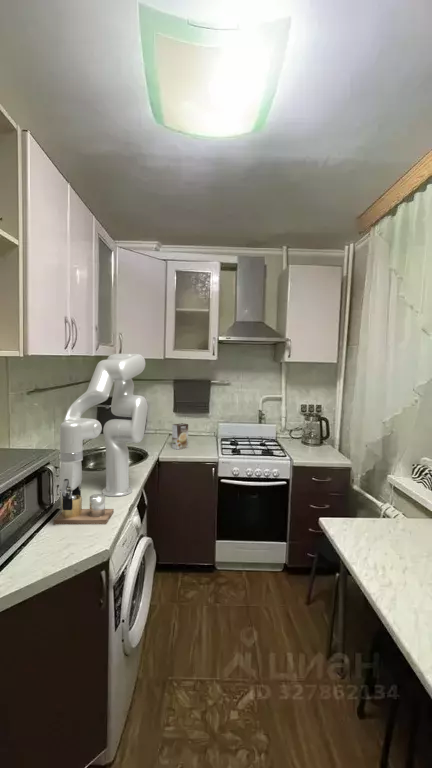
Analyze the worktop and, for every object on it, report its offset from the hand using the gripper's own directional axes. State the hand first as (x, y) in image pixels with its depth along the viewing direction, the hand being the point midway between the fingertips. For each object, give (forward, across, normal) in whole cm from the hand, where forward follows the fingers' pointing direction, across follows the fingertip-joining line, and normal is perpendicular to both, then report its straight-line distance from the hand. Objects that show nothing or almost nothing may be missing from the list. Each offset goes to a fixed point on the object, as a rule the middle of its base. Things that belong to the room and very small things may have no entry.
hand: (71, 504), depth 132 cm
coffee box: (+5, -116, +30) cm, 120 cm away
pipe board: (+5, 0, +4) cm, 7 cm away
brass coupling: (+3, 0, 0) cm, 3 cm away
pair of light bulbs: (+3, 0, +5) cm, 6 cm away
